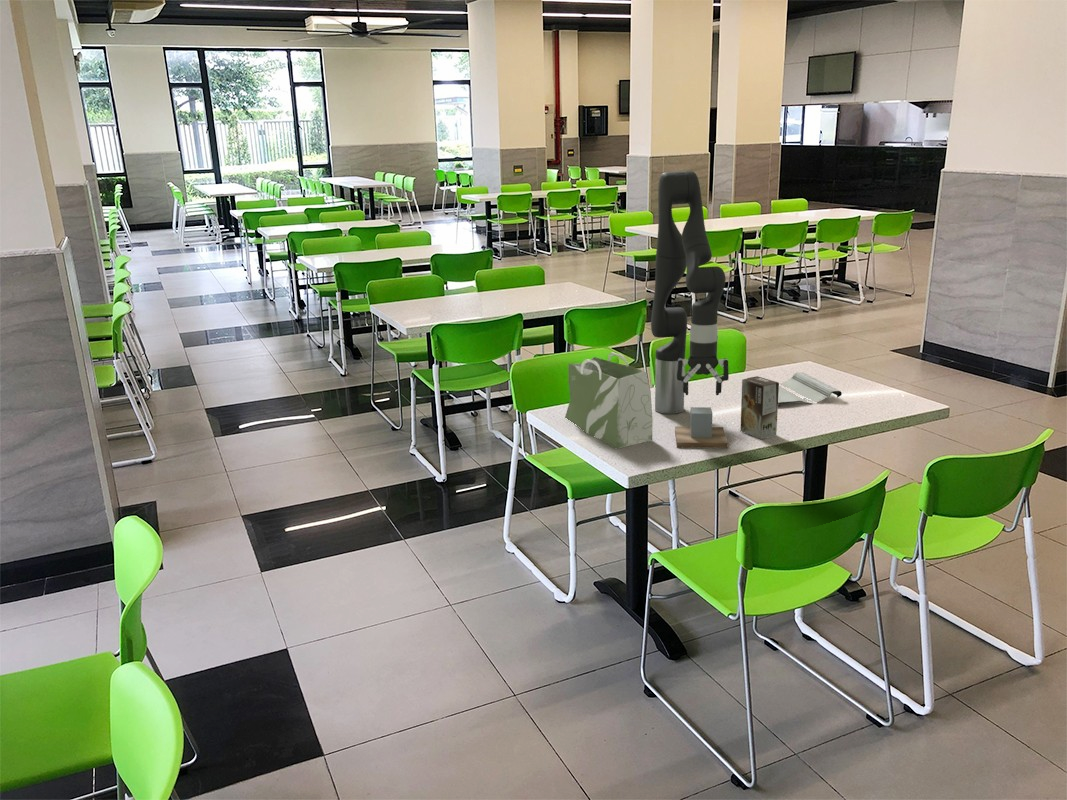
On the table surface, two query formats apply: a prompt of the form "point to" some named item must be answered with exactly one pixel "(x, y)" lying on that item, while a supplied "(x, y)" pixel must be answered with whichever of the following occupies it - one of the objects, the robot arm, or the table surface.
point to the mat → (805, 389)
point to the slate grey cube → (701, 422)
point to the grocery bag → (610, 401)
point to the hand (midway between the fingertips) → (701, 394)
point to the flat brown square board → (687, 442)
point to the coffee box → (759, 407)
